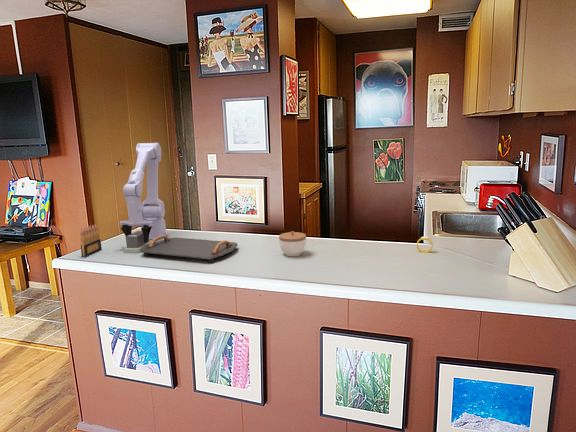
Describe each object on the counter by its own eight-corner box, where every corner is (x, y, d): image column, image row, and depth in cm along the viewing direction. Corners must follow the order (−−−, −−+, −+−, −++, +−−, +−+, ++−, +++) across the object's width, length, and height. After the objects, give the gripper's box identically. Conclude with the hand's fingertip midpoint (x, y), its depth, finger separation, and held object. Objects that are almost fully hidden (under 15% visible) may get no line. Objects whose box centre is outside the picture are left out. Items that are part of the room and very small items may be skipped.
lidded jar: (291, 260, 174) (290, 236, 172) (274, 254, 182) (273, 231, 180) (312, 254, 180) (311, 231, 178) (294, 248, 188) (294, 226, 186)
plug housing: (139, 241, 202) (137, 230, 200) (149, 241, 201) (148, 230, 199) (126, 248, 192) (125, 236, 191) (137, 248, 191) (136, 236, 190)
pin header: (139, 244, 204) (138, 234, 203) (153, 244, 202) (152, 234, 201) (123, 252, 191) (122, 242, 190) (138, 253, 190) (137, 242, 189)
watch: (416, 253, 178) (415, 238, 177) (417, 251, 181) (416, 236, 180) (432, 253, 176) (432, 238, 175) (432, 251, 179) (432, 236, 178)
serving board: (134, 257, 185) (132, 242, 184) (169, 242, 206) (168, 229, 205) (216, 266, 171) (215, 250, 169) (245, 249, 192) (244, 235, 190)
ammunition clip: (85, 257, 186) (81, 229, 184) (81, 257, 187) (77, 228, 184) (102, 250, 196) (98, 223, 194) (98, 249, 197) (94, 222, 194)
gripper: (114, 213, 191) (117, 244, 194) (145, 213, 188) (149, 245, 191) (123, 209, 198) (126, 239, 201) (153, 210, 195) (156, 240, 198)
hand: (138, 242), depth 196 cm, fingers open, 7 cm apart
